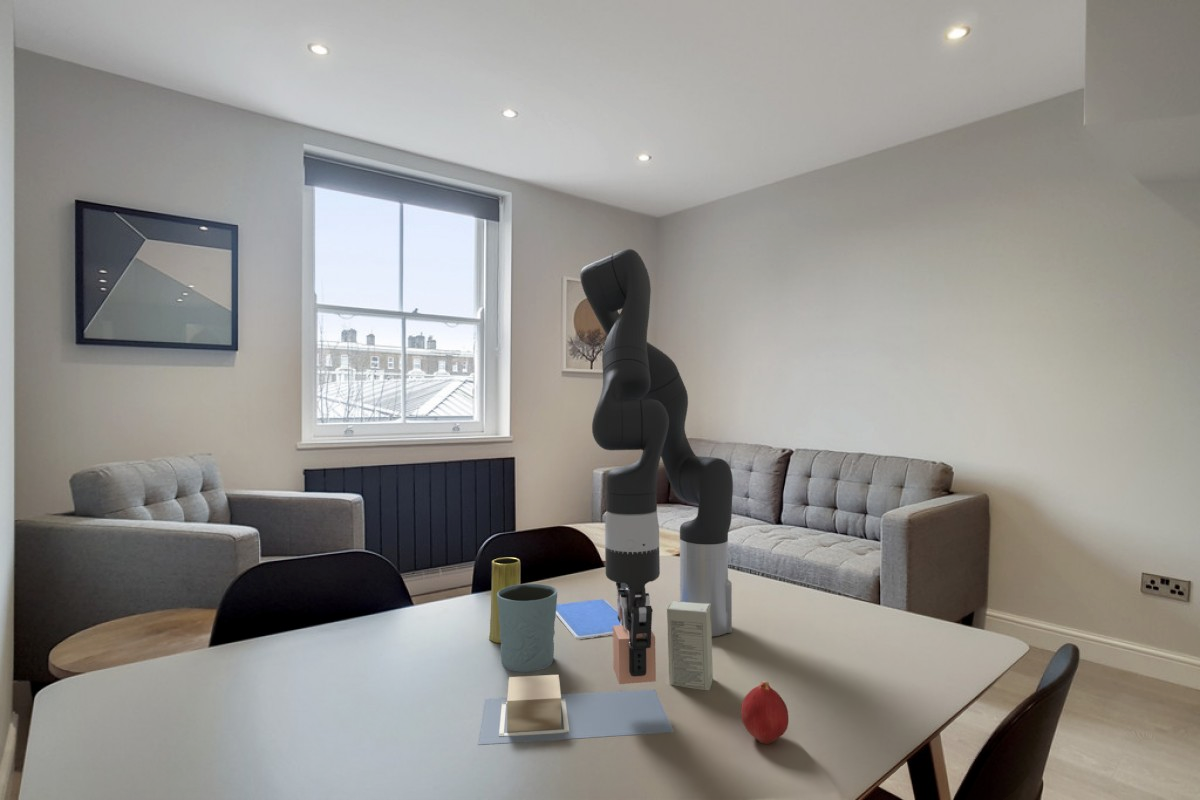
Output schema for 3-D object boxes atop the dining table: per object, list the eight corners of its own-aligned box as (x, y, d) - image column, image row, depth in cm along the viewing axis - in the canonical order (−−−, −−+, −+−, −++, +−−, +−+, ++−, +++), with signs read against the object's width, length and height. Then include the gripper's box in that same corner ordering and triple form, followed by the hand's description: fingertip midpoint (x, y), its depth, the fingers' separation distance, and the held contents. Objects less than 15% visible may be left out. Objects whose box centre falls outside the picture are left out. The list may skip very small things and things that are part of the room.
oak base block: (558, 702, 85) (558, 674, 85) (561, 728, 78) (561, 697, 78) (508, 705, 84) (508, 677, 85) (507, 732, 78) (507, 700, 78)
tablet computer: (639, 634, 115) (639, 627, 115) (576, 643, 110) (576, 636, 110) (604, 604, 133) (604, 598, 133) (549, 610, 128) (549, 604, 128)
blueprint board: (654, 693, 89) (654, 688, 89) (674, 736, 78) (674, 731, 78) (485, 702, 87) (485, 698, 87) (477, 749, 75) (477, 743, 75)
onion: (735, 732, 78) (735, 671, 79) (778, 730, 79) (777, 669, 79) (750, 758, 73) (749, 691, 73) (796, 756, 73) (795, 690, 73)
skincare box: (713, 682, 93) (713, 603, 93) (709, 694, 89) (708, 612, 89) (672, 676, 95) (672, 599, 95) (666, 688, 91) (666, 607, 91)
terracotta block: (647, 665, 86) (647, 623, 86) (655, 681, 81) (655, 636, 81) (613, 668, 85) (612, 625, 85) (619, 684, 80) (618, 639, 80)
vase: (525, 632, 114) (525, 557, 115) (518, 644, 108) (518, 565, 108) (494, 630, 115) (494, 556, 115) (485, 643, 109) (485, 564, 109)
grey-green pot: (507, 682, 93) (508, 604, 94) (488, 658, 102) (488, 587, 103) (567, 669, 98) (567, 595, 98) (543, 647, 107) (544, 579, 107)
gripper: (671, 554, 77) (673, 688, 76) (647, 531, 91) (649, 644, 91) (613, 557, 76) (615, 692, 75) (598, 533, 90) (600, 647, 90)
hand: (633, 665), depth 83 cm, fingers closed on terracotta block, 5 cm apart
